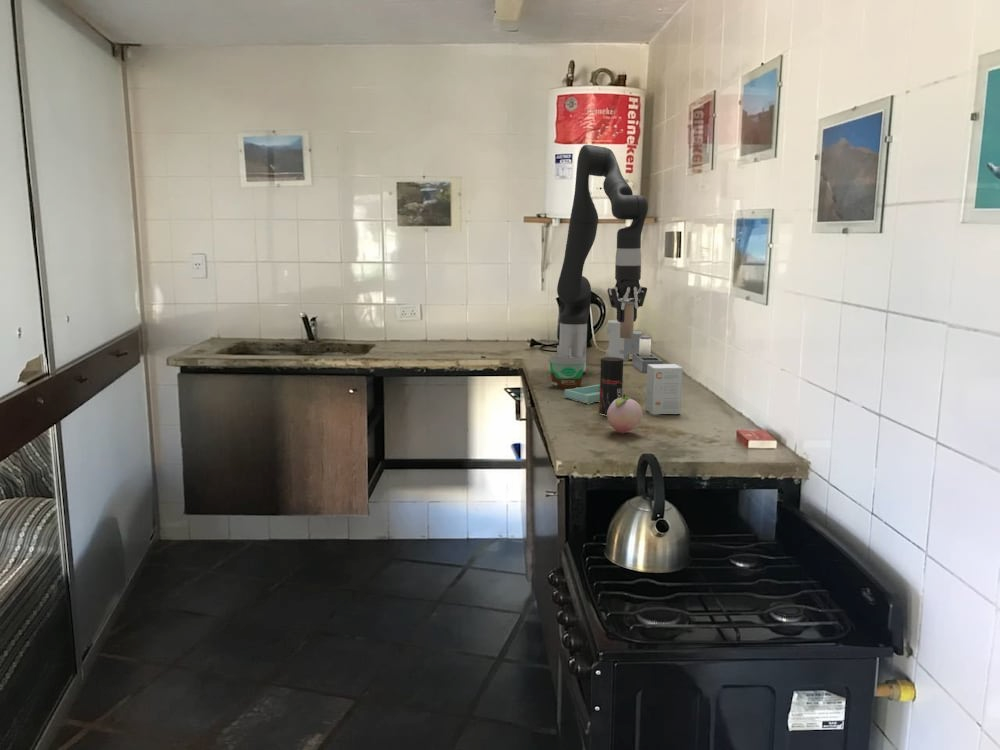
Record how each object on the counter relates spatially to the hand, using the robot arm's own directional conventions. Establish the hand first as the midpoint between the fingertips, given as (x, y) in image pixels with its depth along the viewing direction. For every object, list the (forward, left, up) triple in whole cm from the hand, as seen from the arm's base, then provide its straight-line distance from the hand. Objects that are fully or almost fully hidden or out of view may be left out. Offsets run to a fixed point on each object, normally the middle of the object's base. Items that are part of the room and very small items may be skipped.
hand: (626, 321), depth 240 cm
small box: (-11, -25, -22) cm, 35 cm away
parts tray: (-14, -1, -22) cm, 26 cm away
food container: (-9, +15, -22) cm, 28 cm away
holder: (+32, +21, -22) cm, 44 cm away
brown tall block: (0, 0, -5) cm, 5 cm away
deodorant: (-24, -18, -22) cm, 37 cm away
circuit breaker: (+40, +39, -22) cm, 60 cm away
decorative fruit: (-36, -35, -22) cm, 55 cm away
